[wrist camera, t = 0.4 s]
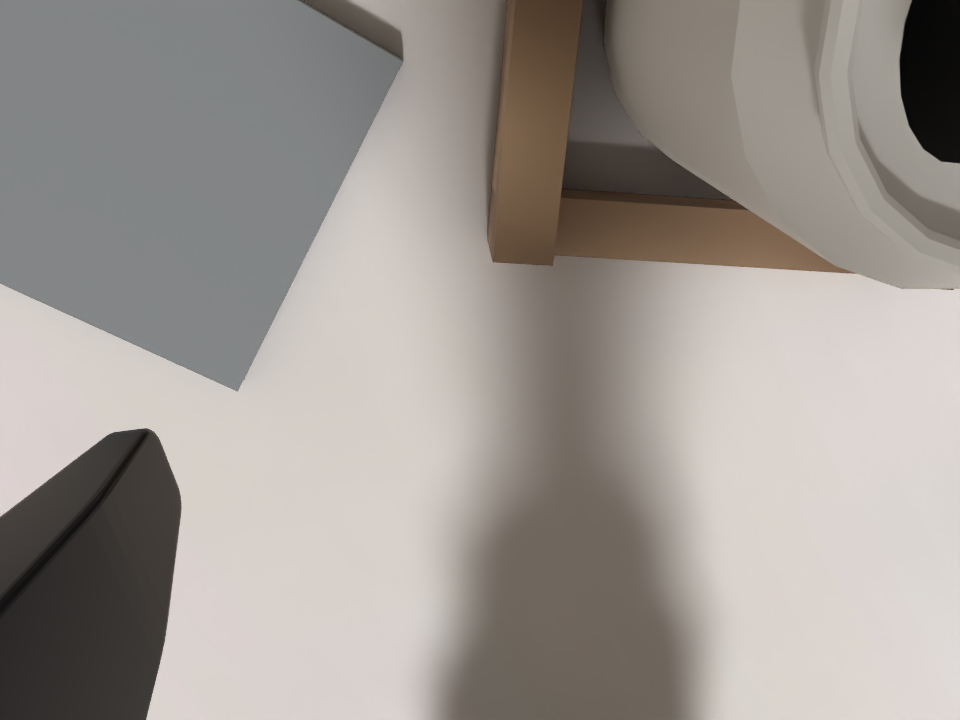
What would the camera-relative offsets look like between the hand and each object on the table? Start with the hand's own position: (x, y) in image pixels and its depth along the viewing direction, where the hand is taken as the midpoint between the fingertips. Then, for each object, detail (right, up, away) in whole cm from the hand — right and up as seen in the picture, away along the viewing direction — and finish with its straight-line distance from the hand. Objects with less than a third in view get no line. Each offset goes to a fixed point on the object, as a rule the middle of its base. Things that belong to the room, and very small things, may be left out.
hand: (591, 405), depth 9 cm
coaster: (-10, +6, +13) cm, 17 cm away
